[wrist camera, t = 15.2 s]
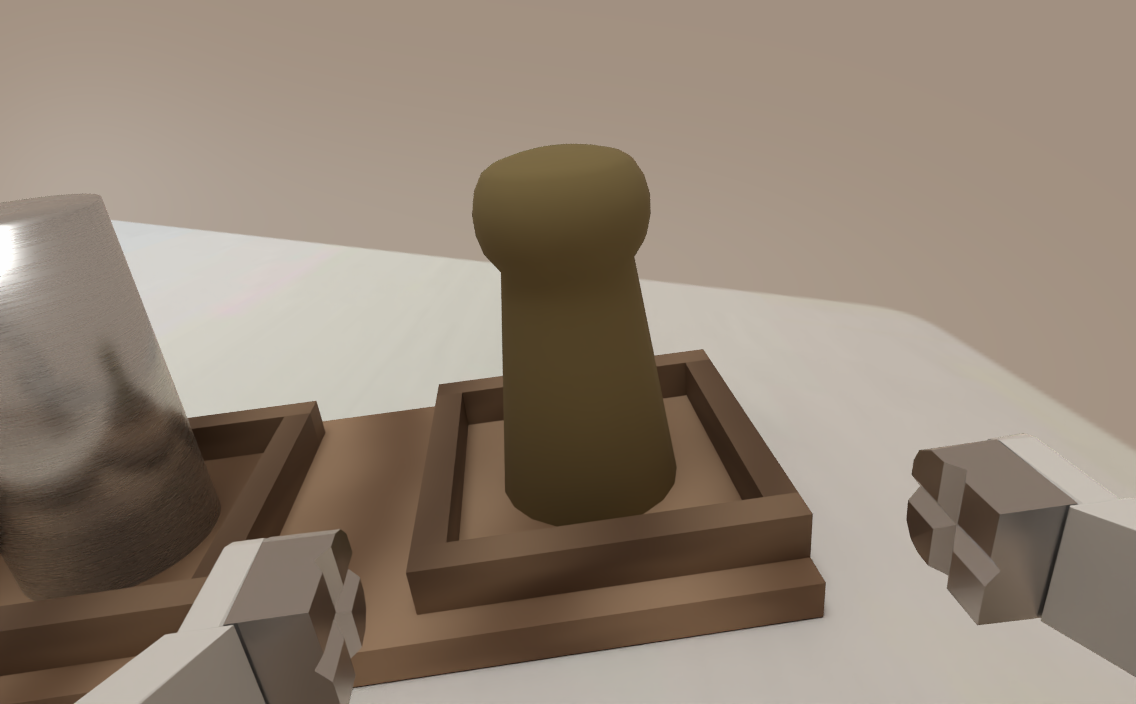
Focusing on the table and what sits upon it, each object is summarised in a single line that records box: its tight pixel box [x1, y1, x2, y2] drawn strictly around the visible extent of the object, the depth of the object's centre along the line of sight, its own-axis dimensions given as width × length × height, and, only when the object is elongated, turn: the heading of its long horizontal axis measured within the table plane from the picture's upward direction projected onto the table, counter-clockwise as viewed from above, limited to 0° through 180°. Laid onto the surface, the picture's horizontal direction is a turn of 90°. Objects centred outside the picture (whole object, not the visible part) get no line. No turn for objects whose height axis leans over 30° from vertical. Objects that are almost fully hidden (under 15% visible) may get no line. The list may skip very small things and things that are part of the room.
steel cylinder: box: [0, 194, 221, 601], centre depth 21 cm, size 6×6×11 cm
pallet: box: [0, 349, 826, 704], centre depth 24 cm, size 27×13×3 cm, turn 96°
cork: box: [472, 144, 677, 527], centre depth 22 cm, size 6×6×11 cm
